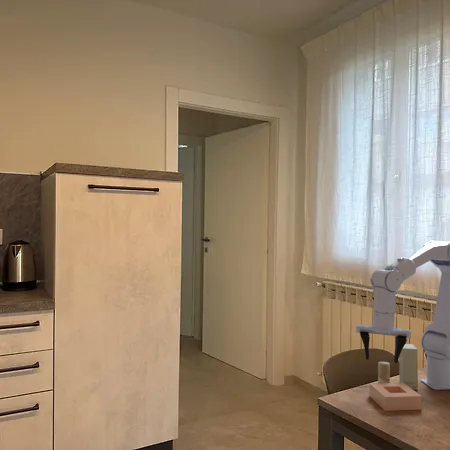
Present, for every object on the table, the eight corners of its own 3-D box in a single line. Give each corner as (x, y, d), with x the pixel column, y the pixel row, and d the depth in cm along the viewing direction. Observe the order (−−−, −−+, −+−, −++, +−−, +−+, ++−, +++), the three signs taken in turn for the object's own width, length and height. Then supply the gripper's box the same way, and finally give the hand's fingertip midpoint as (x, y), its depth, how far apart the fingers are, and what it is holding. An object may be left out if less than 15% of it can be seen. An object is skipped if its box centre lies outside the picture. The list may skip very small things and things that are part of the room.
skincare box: (418, 390, 132) (418, 349, 132) (402, 389, 133) (402, 348, 133) (413, 382, 139) (413, 343, 139) (398, 381, 140) (398, 342, 139)
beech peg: (386, 388, 134) (386, 361, 134) (391, 392, 131) (391, 364, 131) (376, 388, 134) (376, 361, 134) (380, 392, 131) (381, 365, 130)
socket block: (403, 395, 129) (403, 382, 129) (421, 409, 119) (421, 396, 119) (369, 396, 128) (369, 383, 128) (384, 410, 118) (385, 397, 118)
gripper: (358, 311, 124) (355, 360, 124) (413, 317, 121) (411, 367, 121) (356, 308, 131) (354, 354, 131) (409, 313, 128) (407, 360, 128)
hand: (381, 360), depth 126 cm, fingers open, 7 cm apart
